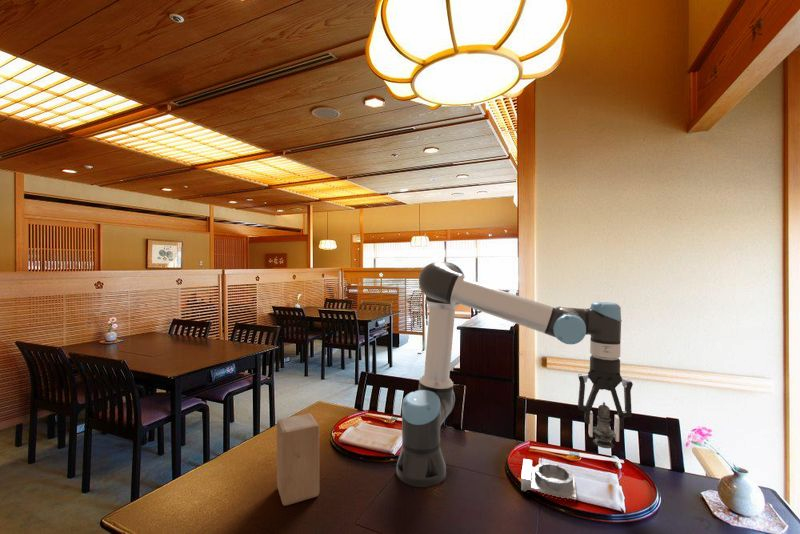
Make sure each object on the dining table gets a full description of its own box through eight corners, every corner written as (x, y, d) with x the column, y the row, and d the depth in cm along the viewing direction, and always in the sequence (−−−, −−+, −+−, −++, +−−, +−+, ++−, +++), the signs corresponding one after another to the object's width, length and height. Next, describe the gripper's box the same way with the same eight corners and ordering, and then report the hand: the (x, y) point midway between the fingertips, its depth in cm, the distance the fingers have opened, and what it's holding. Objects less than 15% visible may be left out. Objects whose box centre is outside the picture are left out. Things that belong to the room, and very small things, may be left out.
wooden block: (282, 508, 94) (282, 432, 94) (276, 487, 103) (276, 418, 103) (320, 497, 99) (320, 424, 98) (311, 477, 108) (311, 411, 107)
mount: (521, 490, 101) (521, 476, 101) (523, 469, 112) (523, 456, 112) (576, 502, 96) (576, 487, 96) (573, 480, 106) (573, 466, 106)
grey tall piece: (618, 450, 99) (619, 407, 99) (595, 447, 101) (596, 405, 100) (610, 439, 105) (611, 399, 105) (588, 437, 106) (589, 397, 106)
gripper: (569, 356, 103) (567, 436, 103) (647, 363, 95) (645, 450, 96) (567, 350, 110) (566, 425, 110) (640, 357, 102) (638, 437, 103)
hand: (603, 437), depth 103 cm, fingers closed on grey tall piece, 6 cm apart
